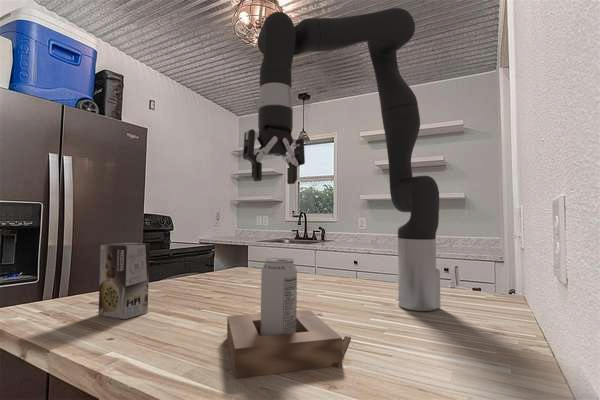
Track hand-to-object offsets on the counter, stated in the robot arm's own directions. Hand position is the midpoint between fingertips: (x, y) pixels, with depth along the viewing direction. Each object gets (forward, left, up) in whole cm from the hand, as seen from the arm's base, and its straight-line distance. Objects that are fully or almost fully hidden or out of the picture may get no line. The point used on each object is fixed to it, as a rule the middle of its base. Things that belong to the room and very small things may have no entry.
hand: (275, 182), depth 71 cm
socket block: (+2, +14, -30) cm, 33 cm away
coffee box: (+32, -16, -30) cm, 47 cm away
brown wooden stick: (-8, +17, -31) cm, 36 cm away
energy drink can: (+2, +14, -30) cm, 33 cm away
